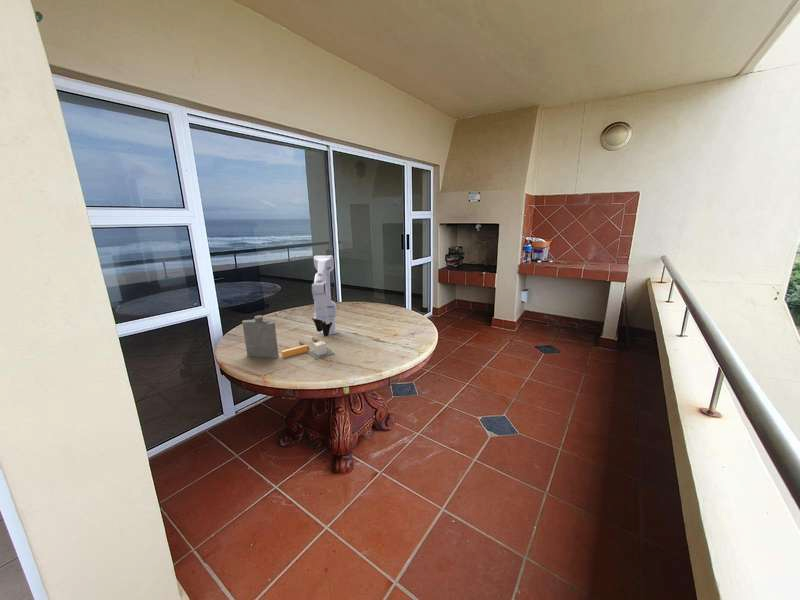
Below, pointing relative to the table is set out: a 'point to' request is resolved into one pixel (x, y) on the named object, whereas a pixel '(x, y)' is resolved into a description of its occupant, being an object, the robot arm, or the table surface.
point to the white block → (320, 348)
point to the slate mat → (321, 355)
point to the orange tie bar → (294, 351)
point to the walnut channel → (306, 344)
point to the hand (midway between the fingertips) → (322, 333)
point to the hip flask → (260, 338)
